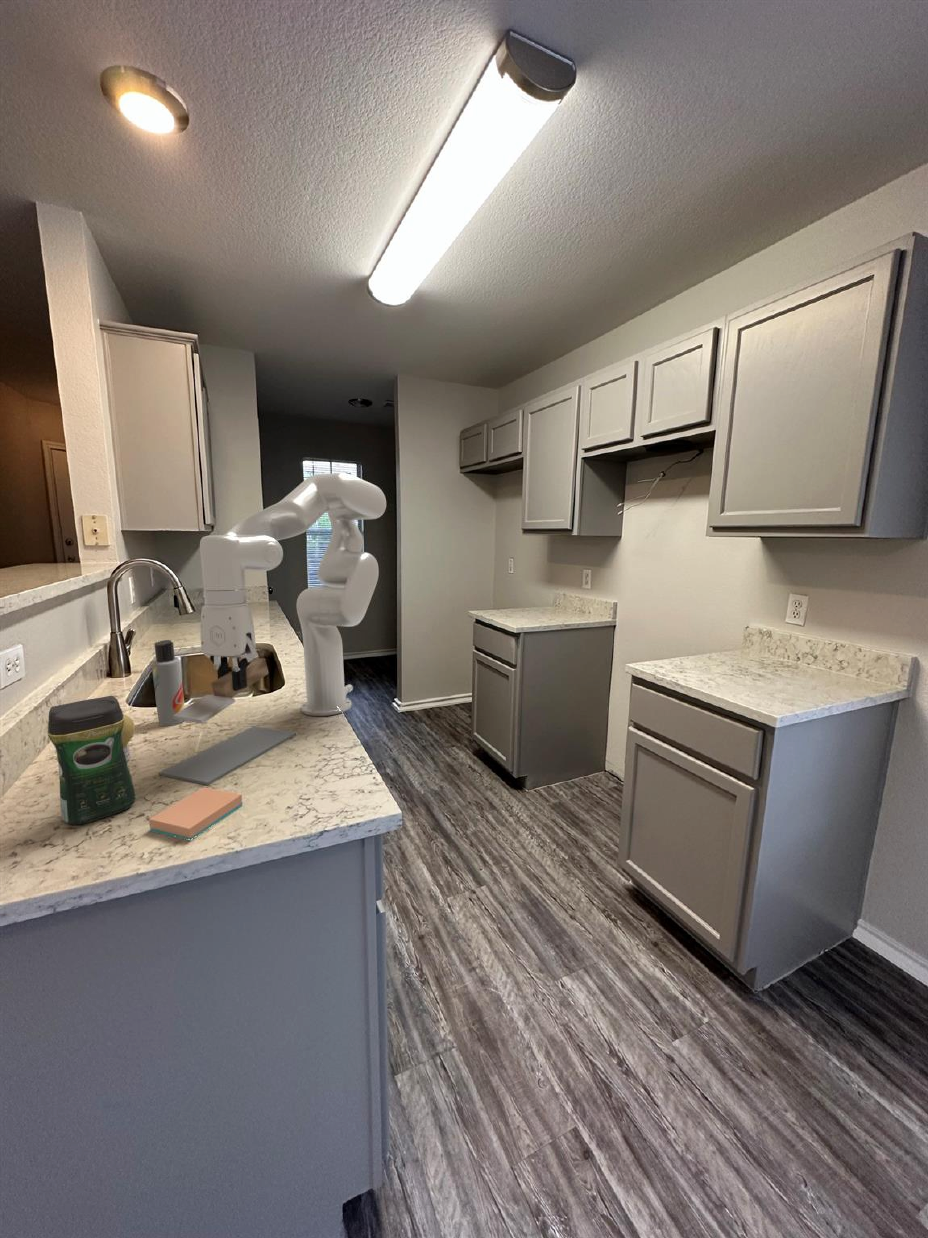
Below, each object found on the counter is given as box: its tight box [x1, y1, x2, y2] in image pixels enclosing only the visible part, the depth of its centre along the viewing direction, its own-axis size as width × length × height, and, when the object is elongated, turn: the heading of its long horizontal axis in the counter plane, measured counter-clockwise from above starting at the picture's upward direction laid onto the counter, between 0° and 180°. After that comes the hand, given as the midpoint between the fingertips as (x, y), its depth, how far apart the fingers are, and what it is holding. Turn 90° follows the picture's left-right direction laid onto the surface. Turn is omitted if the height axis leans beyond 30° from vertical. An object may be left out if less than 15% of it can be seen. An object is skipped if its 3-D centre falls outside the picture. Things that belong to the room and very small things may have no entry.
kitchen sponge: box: [148, 786, 243, 840], centre depth 76 cm, size 2×8×10 cm
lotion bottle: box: [151, 639, 186, 727], centre depth 116 cm, size 6×6×20 cm
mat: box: [158, 725, 297, 786], centre depth 100 cm, size 24×12×1 cm, turn 160°
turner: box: [173, 657, 270, 725], centre depth 97 cm, size 20×7×4 cm, turn 161°
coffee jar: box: [47, 695, 136, 826], centre depth 77 cm, size 10×8×19 cm
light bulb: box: [122, 714, 136, 763], centre depth 95 cm, size 6×6×10 cm
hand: (233, 687), depth 99 cm, fingers closed on turner, 3 cm apart
